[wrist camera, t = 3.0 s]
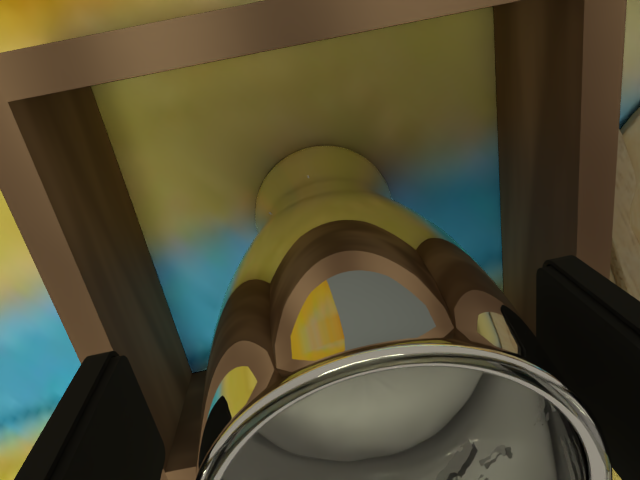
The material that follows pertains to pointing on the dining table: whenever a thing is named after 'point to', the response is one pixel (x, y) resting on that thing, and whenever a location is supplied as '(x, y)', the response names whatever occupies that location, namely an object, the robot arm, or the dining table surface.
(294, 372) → the beer glass
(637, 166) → the tableware set
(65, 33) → the dining table surface
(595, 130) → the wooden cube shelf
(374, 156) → the dining table surface
